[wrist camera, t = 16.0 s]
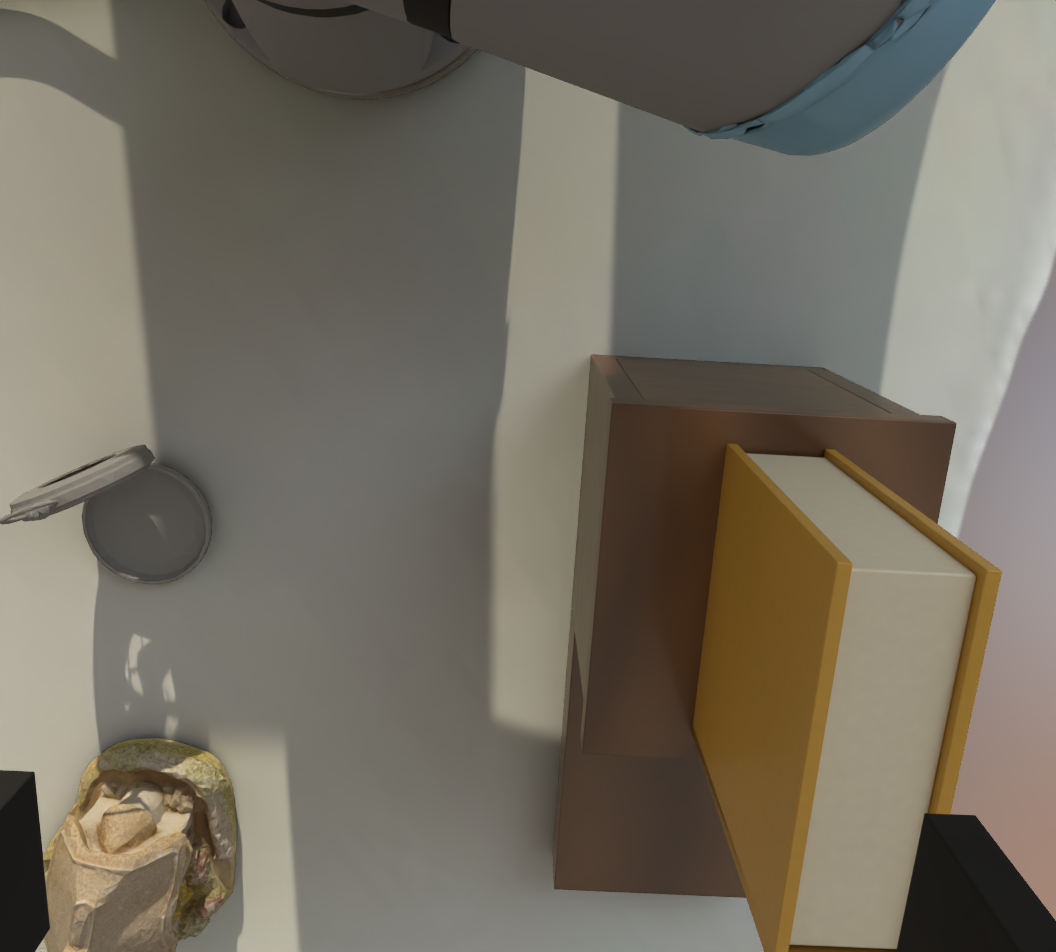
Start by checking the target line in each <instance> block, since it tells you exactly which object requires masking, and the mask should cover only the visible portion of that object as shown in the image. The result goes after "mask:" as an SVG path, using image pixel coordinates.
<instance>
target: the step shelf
mask: <svg viewBox="0 0 1056 952" xmlns="http://www.w3.org/2000/svg"><path fill="white" fill-rule="evenodd" d="M955 428H956V423H955V422H953V421H951V420H949V419H947V418H945V417H942V416H930V415H919V414H917V413H915V412H913V411H911V410H909V409H907V408H905V407H903V406H901V405H899V404H897V403H895V402H893V401H891V400H889V399H886V398H884V397H882V396H880V395H878V394H876V393H874V392H872V391H870V390H868V389H866V388H864V387H862V386H860V385H858V384H856V383H853V382H851V381H849V380H847V379H845V378H843V377H841V376H839V375H837V374H835V373H833V372H831V371H829V370H827V369H825V368H817V367H800V366H782V365H765V364H747V363H730V362H713V361H695V360H678V359H660V358H643V357H626V356H608V355H591V361H590V374H589V387H588V400H587V413H586V426H585V439H584V452H583V464H582V477H581V490H580V503H579V516H578V529H577V542H576V555H575V568H574V581H573V594H572V609H571V620H570V633H569V646H568V659H567V671H566V684H565V697H564V710H563V723H562V736H561V749H560V762H559V775H558V788H557V801H556V814H555V827H554V839H553V852H552V856H553V877H554V889H562V890H585V891H608V892H631V893H653V894H676V895H699V896H722V897H744V898H746V895H745V892H744V889H743V886H742V883H741V880H740V877H739V874H738V871H737V868H736V865H735V862H734V859H733V856H732V853H731V850H730V847H729V844H728V841H727V838H726V835H725V832H724V829H723V826H722V823H721V820H720V817H719V814H718V811H717V808H716V805H715V802H714V799H713V796H712V793H711V790H710V787H709V784H708V781H707V778H706V775H705V772H704V769H703V766H702V763H701V760H700V757H699V754H698V751H697V748H696V745H695V742H694V739H693V736H692V728H693V720H694V711H695V703H696V695H697V686H698V678H699V670H700V662H701V653H702V645H703V637H704V629H705V620H706V612H707V604H708V596H709V587H710V579H711V571H712V563H713V554H714V546H715V538H716V530H717V521H718V513H719V505H720V497H721V488H722V480H723V472H724V464H725V455H726V447H727V444H737V445H738V446H739V447H740V448H741V449H742V450H743V451H744V452H745V453H748V454H767V455H785V456H803V457H821V458H824V451H825V449H834V450H836V451H837V452H839V453H840V454H842V455H843V456H844V457H846V458H847V459H848V460H850V461H851V462H853V463H854V464H855V465H857V466H858V467H859V468H861V469H862V470H864V471H865V472H866V473H868V474H869V475H870V476H872V477H873V478H875V479H876V480H877V481H879V482H880V483H881V484H883V485H884V486H886V487H887V488H888V489H890V490H891V491H892V492H894V493H895V494H897V495H898V496H899V497H901V498H902V499H903V500H905V501H906V502H907V503H909V504H910V505H912V506H913V507H914V508H916V509H917V510H918V511H920V512H921V513H923V514H924V515H925V516H927V517H928V518H929V519H931V520H932V521H934V522H935V523H936V524H937V523H938V518H939V513H940V507H941V502H942V497H943V492H944V486H945V481H946V476H947V471H948V465H949V460H950V455H951V449H952V444H953V439H954V434H955Z"/></svg>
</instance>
